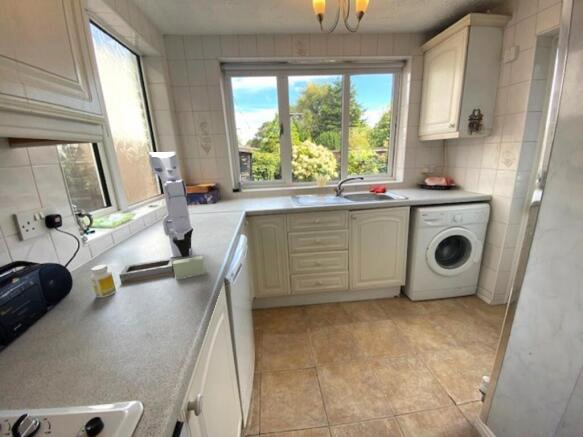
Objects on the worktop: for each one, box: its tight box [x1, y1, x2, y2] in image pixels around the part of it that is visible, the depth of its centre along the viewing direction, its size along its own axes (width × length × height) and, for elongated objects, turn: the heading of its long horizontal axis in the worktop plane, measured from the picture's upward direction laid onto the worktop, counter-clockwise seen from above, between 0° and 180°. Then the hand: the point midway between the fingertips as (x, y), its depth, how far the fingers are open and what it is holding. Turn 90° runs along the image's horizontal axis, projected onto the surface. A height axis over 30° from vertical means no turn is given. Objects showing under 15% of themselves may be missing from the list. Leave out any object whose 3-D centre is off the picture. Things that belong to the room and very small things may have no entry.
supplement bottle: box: [90, 264, 117, 299], centre depth 82 cm, size 5×5×10 cm
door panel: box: [173, 255, 206, 280], centre depth 92 cm, size 3×10×6 cm, turn 106°
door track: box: [119, 257, 176, 284], centre depth 95 cm, size 8×17×3 cm, turn 106°
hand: (186, 252), depth 90 cm, fingers open, 7 cm apart
